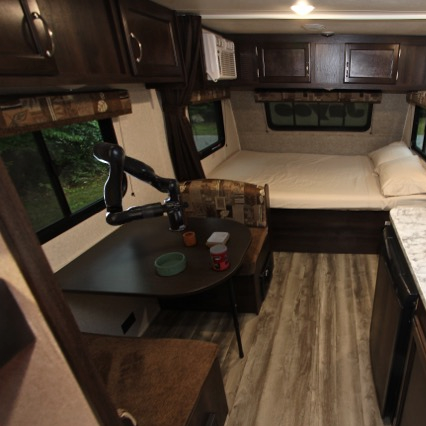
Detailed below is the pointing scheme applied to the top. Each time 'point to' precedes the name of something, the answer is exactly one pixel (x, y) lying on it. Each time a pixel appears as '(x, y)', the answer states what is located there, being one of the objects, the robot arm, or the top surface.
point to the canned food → (219, 257)
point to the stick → (183, 210)
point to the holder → (189, 238)
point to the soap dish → (217, 239)
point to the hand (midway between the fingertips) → (188, 204)
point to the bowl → (170, 264)
